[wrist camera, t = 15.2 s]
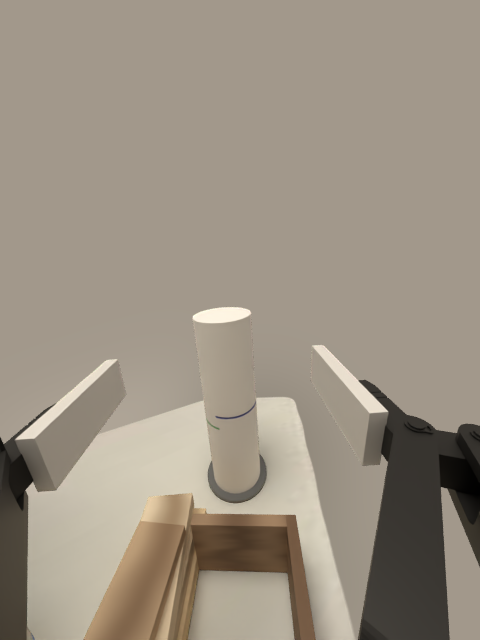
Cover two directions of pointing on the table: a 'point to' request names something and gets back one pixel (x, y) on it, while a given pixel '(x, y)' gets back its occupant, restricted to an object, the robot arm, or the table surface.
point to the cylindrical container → (229, 395)
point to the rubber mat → (238, 496)
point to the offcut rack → (194, 568)
